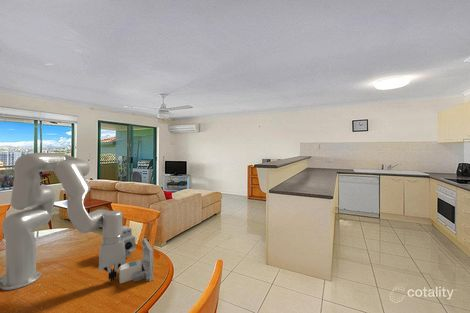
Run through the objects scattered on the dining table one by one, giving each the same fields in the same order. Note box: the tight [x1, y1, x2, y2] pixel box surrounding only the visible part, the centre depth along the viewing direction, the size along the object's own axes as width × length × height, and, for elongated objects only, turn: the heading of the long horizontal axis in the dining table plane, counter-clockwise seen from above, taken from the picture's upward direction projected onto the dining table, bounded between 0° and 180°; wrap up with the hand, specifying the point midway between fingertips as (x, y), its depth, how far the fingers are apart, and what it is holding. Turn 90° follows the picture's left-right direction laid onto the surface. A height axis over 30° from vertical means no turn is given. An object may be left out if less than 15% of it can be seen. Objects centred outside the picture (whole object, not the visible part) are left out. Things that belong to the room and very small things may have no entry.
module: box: [118, 259, 142, 284], centre depth 96 cm, size 9×5×6 cm, turn 125°
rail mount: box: [132, 237, 154, 283], centre depth 99 cm, size 8×16×14 cm, turn 35°
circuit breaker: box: [122, 225, 136, 257], centre depth 116 cm, size 8×14×15 cm, turn 53°
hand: (112, 279), depth 92 cm, fingers closed
